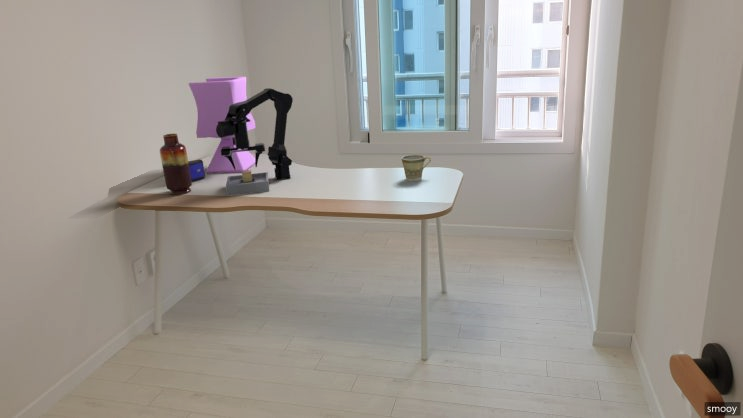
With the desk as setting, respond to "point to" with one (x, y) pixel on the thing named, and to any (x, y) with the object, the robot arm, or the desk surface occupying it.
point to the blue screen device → (196, 170)
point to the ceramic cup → (414, 166)
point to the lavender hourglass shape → (221, 119)
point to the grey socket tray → (247, 184)
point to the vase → (175, 165)
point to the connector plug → (247, 176)
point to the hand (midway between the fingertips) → (245, 168)
